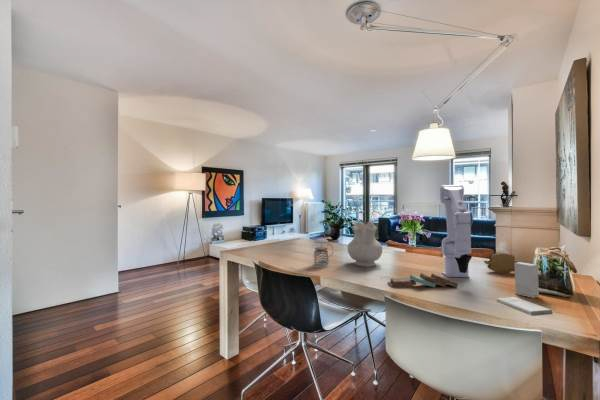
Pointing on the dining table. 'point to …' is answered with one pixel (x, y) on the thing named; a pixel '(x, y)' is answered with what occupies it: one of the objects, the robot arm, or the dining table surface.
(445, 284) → the domino
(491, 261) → the wooden carving
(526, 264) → the skincare box
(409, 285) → the domino
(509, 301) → the external hard drive
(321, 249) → the french press
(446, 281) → the domino
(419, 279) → the domino
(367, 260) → the ceramic pitcher
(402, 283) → the domino
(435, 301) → the dining table surface
